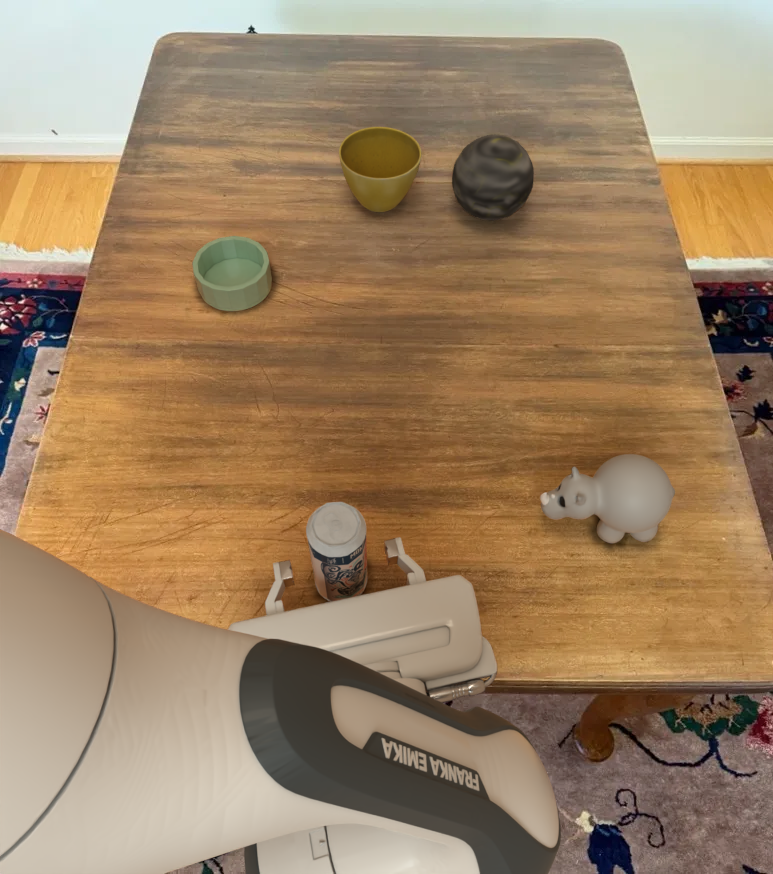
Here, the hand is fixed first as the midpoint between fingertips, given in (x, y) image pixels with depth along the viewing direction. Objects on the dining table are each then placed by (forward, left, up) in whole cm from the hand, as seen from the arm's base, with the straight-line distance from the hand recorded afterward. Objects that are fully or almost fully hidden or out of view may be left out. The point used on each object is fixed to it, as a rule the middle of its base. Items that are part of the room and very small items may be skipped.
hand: (337, 552), depth 63 cm
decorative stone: (+28, +45, -7) cm, 53 cm away
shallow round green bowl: (-5, +39, -7) cm, 40 cm away
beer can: (0, 0, -7) cm, 7 cm away
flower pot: (+15, +50, -7) cm, 53 cm away
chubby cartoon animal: (+25, +1, -7) cm, 26 cm away
